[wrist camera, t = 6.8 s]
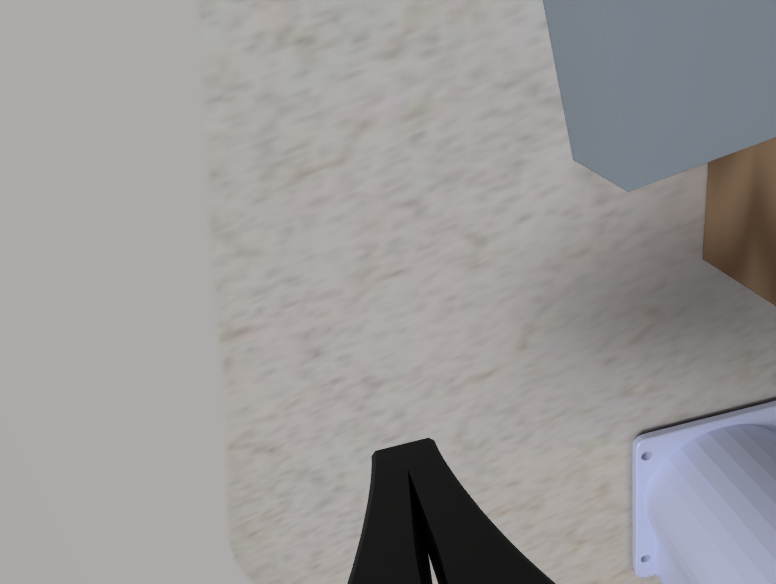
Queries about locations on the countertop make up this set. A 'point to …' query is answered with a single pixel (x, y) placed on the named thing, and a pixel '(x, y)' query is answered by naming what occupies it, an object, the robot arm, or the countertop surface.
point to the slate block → (663, 82)
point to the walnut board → (743, 217)
